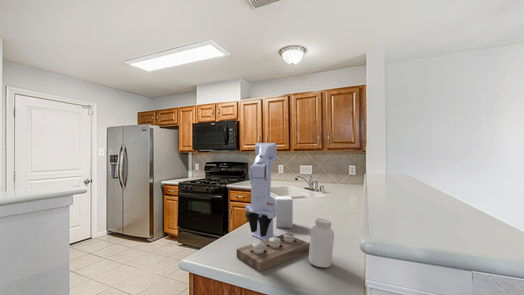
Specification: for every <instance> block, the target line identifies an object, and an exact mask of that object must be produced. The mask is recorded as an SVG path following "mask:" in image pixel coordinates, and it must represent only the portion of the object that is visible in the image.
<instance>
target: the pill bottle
mask: <svg viewBox="0 0 524 295" xmlns="http://www.w3.org/2000/svg"><path fill="white" fill-rule="evenodd" d="M331 226H332V222H331V220H329V219H326V218H320V217H319V218H316V219H315V226H312V227H311V231H310V241H309V243H310V248H309V252H308V262H309V263H310V264H311V265H313V266H315V267H319V268H329V267H331V266H332V261H333V251H334V250H333V249H334V239H335V233H334V230H333V229H332V228H331Z"/></svg>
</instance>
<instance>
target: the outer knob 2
mask: <svg viewBox="0 0 524 295" xmlns="http://www.w3.org/2000/svg"><path fill="white" fill-rule="evenodd" d="M283 234H284V235H283ZM283 234H282V235H283V237H284V243H287V244H292V243H294V237H295V234H294V233H291V232H286V233H283Z"/></svg>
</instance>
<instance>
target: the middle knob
mask: <svg viewBox="0 0 524 295" xmlns="http://www.w3.org/2000/svg"><path fill="white" fill-rule="evenodd" d="M269 247H270V248H272V249H274V250H275V249H278V248H280V239H279V238H276V237H273V238H269Z"/></svg>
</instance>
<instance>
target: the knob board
mask: <svg viewBox="0 0 524 295" xmlns="http://www.w3.org/2000/svg"><path fill="white" fill-rule="evenodd" d="M284 234H285V233H283V234H280V235H276V238H279V239H280V248H278V249H275V250H274V249H272V248H270V247H269V239H267V240H261V241H259V242H261V243H264V244H265V247H264V254H261V255H258V256H257V255H255V254H253V243H251V244H248V245H244V246H242V247H238V248H236V258H237V259H238V260H241V261H243V262H244V263H246V264H247V265H249V267H252V268H253V269H255V270H257V271H258V272H259V273H260V272H263V271H266V270H267V269H270V268H273V267H275V266H277V265H281V264H282V263H284V262H287V261H289V260H292V259H294V258H296V257H299V256H301V255H304V254H306V253H309V248H310V242H308V241H305V240H303V239H300V238H297V237H295V236H294V243H292V244H287V243H284V237H283V235H284Z"/></svg>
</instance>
